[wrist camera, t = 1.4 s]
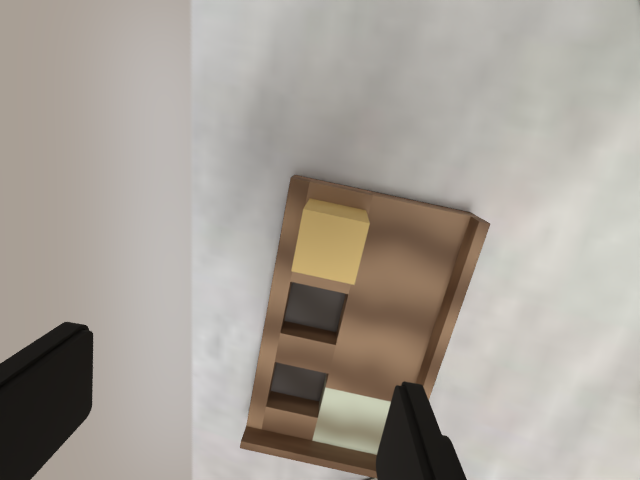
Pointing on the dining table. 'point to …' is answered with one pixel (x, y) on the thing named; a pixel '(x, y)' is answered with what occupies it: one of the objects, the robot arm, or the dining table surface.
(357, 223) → the ochre block
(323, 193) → the board
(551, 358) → the dining table surface
